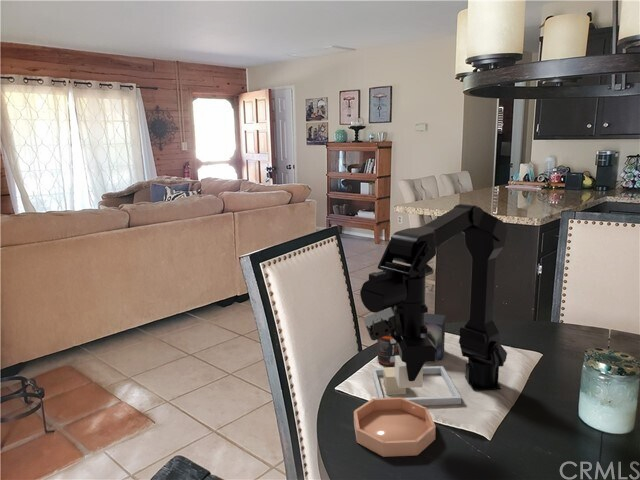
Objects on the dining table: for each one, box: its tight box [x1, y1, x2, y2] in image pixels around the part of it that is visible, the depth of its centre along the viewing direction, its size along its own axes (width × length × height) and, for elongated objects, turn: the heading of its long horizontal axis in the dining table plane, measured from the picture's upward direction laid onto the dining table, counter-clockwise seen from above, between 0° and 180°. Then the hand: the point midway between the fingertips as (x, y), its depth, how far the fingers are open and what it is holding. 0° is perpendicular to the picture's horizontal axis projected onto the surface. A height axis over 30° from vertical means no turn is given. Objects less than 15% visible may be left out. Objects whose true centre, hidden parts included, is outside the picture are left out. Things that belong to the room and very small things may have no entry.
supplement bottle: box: [376, 334, 399, 366], centre depth 123 cm, size 6×6×11 cm
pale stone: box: [394, 356, 424, 389], centre depth 92 cm, size 4×4×4 cm
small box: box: [421, 313, 446, 361], centre depth 127 cm, size 11×6×10 cm, turn 68°
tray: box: [371, 365, 462, 406], centre depth 110 cm, size 18×15×2 cm
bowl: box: [353, 397, 437, 458], centre depth 94 cm, size 15×15×3 cm
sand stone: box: [382, 366, 407, 396], centre depth 110 cm, size 4×4×4 cm
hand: (408, 374), depth 92 cm, fingers closed on pale stone, 4 cm apart
